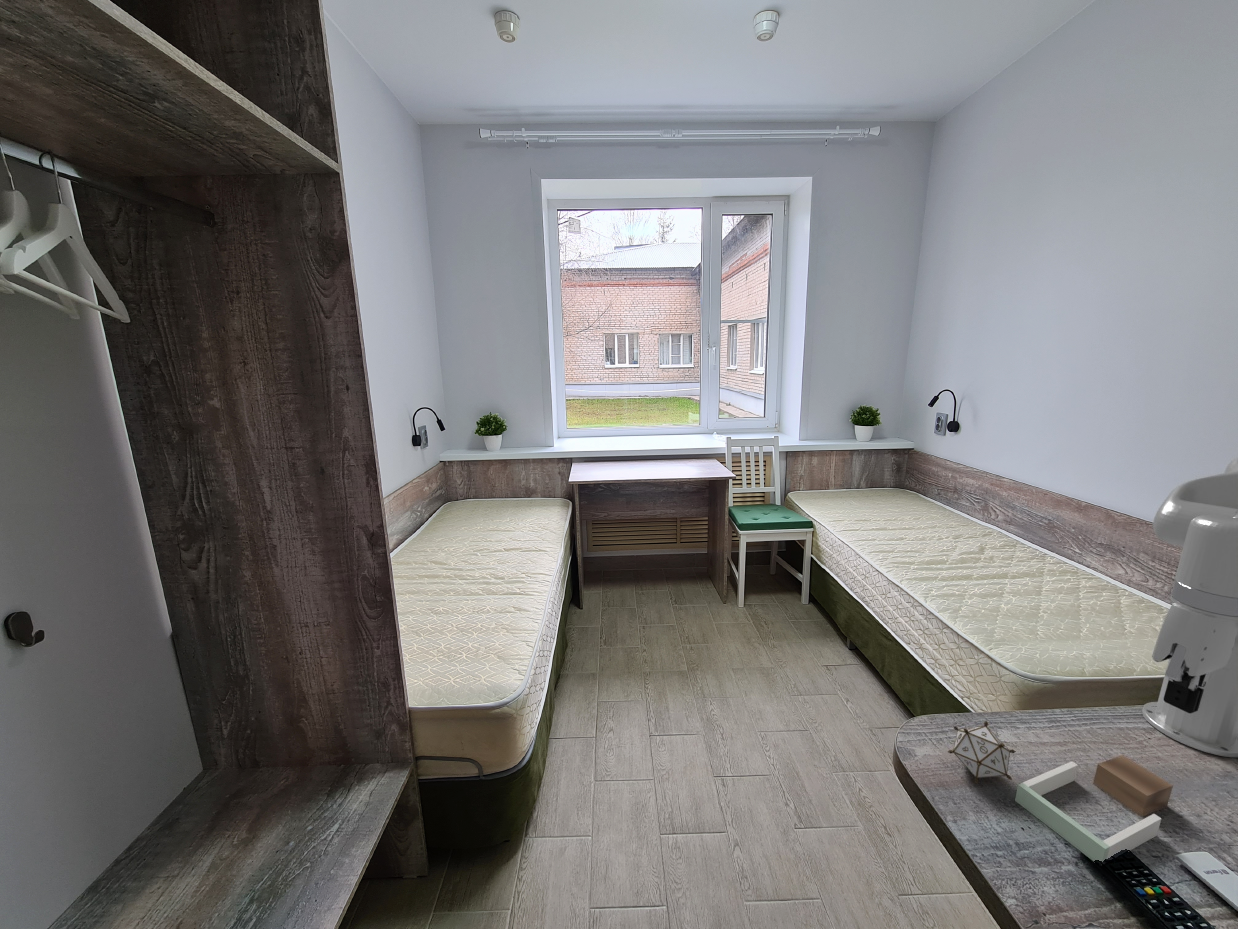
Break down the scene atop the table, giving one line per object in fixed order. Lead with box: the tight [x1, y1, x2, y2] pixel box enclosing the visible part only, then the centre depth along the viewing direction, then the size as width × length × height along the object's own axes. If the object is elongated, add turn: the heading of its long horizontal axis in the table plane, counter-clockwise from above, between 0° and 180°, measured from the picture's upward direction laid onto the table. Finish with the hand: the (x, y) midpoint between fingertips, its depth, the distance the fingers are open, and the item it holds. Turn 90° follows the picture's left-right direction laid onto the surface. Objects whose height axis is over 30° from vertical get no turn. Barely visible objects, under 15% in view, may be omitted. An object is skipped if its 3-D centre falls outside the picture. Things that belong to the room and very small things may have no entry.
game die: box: [947, 720, 1016, 785], centre depth 79 cm, size 9×8×10 cm
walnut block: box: [1092, 754, 1174, 818], centre depth 75 cm, size 6×6×4 cm
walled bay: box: [1014, 760, 1162, 862], centre depth 71 cm, size 13×11×3 cm
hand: (1179, 706), depth 75 cm, fingers closed
